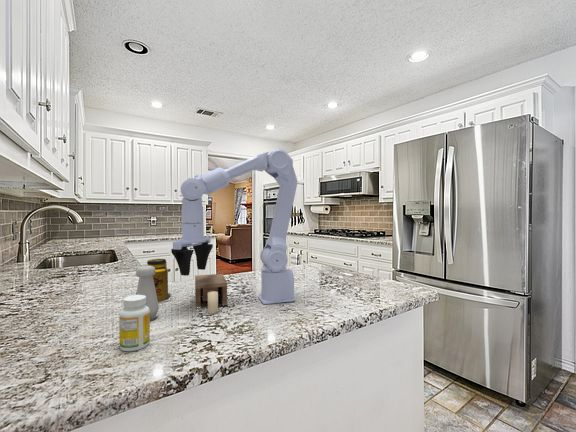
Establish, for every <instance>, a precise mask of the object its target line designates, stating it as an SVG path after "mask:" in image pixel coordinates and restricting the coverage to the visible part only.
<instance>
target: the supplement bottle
mask: <svg viewBox="0 0 576 432" xmlns="http://www.w3.org/2000/svg"><path fill="white" fill-rule="evenodd" d="M122 301H123V303H122V305H123V307H124V308H122V309H121V310H120V312H119V317H118V318H119V319H118V320H119V321H118V322H119V324H118V325H119V327H118V328H119V330H118V331H119V332H118V333H119V338H118V339H119V341H118V342H119V343H118V344H119V346H118V347H119V349H120V350H121V351H123V352H134V351H138V350H141V349H144V348H146V347H147V346H148V345H149V344H150V340H151V339H150V337H151V336H150V335H151V334H150V333H151V331H150V329H151V328H150V326H151V325H150V324H151V323H150V321H151V320H150V309H149V307H148V306H146V305H145V304H146V296H145V295H136V294H132V295H128V296H126V297H124V298H123V300H122Z"/></svg>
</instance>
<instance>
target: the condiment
mask: <svg viewBox="0 0 576 432" xmlns="http://www.w3.org/2000/svg"><path fill="white" fill-rule="evenodd" d="M146 266H153V267H154V268H155V275H153V280H154V285H155V290H156V295H157V300H158V303H164V302H169V301H172V294H171V292H169V280H168V279H169V271H168V267H167V259H166V258H155V259H154V258H152V259H149V260H147V262H146ZM170 297H171V298H170ZM169 298H170V299H171V300H170V299H169Z"/></svg>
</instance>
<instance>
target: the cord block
mask: <svg viewBox="0 0 576 432" xmlns="http://www.w3.org/2000/svg"><path fill="white" fill-rule="evenodd" d="M201 298H202V301H203V302H207V313H208V314H210V313H211V315H214V314H217V313H218V312H219V295H218V287H212V288H202V297H201Z"/></svg>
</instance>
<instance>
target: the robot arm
mask: <svg viewBox="0 0 576 432" xmlns="http://www.w3.org/2000/svg"><path fill="white" fill-rule="evenodd" d="M293 163H294V161H293V158H292V157H291V156H290V154H288V152H287V151H286V150H285V149H281V148H275V149H273V150H271V151H266V152H262V153H259V154H257V155H254V156H251V157H250V158H248V159H245V160H243V161H241V162H239V163H237V164H235V165H232V166H231V167H228V168H227V169H224V168H222V167H215V166H213V167H210V169H209V171H207V172H204V173H203V174H200V175H199V174H195V175H194V177H190V178H189V177H188V178H187V179H186V180H184V181H183V182H182V184H181V186H180V193H181V195H182V198H181V204H182V205H181V238H179V240H176V241H172V248H171V249H170V251H171V254H172V255H173V257H174V259H175V260H176V263H177V266H178V268H179V273H180V275H181V276H190V273H191V262H192V261H191V260H192V257H193V254H195V257H196V258H195V260H196V267H197V270H201V271H205V270H206V268H207V263H208V259H209V256H210V253H211V251H212V249H213V247H214V245H213V244H212V242H211V236H204V234H205V230H204V229H205V226H204V225H205V223H204V206H203V195H207V196H209V195H210V194H213V193H215V192H217V191H220V190H221V189H224V188H226V187H228V186H229V184H230V181H231V180H233V179H236V178H238V177H241V176H243V175H246V174H248V173H251V172H252V171H257V172H264V171H265V173H266V174H268V175H269V176H270V177H272V178H273V179H274V180H275V182H276V183H277V184H278V186H279V188H278V193H277V198H276V203H275V206H274V207H275V208H274V211H273V216H272V221H271V226H270V230H269V235H268V238H267V239H266V241H265V246H264V247H263V248H262V250H261V252H260V255H259V257H260V260H261V263H263V264H262V267H261V276H260V277H261V278H260V279H261V282H260V284H261V286H260V287H261V294H258V295H257V298H258V299H259V301H261V303H262V304H263V305H270V304H271V305H272V304H280V303H289V302H295V301H296V299H295V277H294V275H295V274H294V272H293V269H290V268H286V266H287V264H288V261H289V260H288V255H287V251H288V245H287V235H288V231H289V230H288V229H289V226H290V220H291V216H292V212H293V211H292V210H293V206H294V201H295V196H296V193H297V192H296V191H297V186H298V178H297V175H296V171H295V169H294V166H293V165H294V164H293ZM191 247H192V248H193V249H189V248H191Z"/></svg>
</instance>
